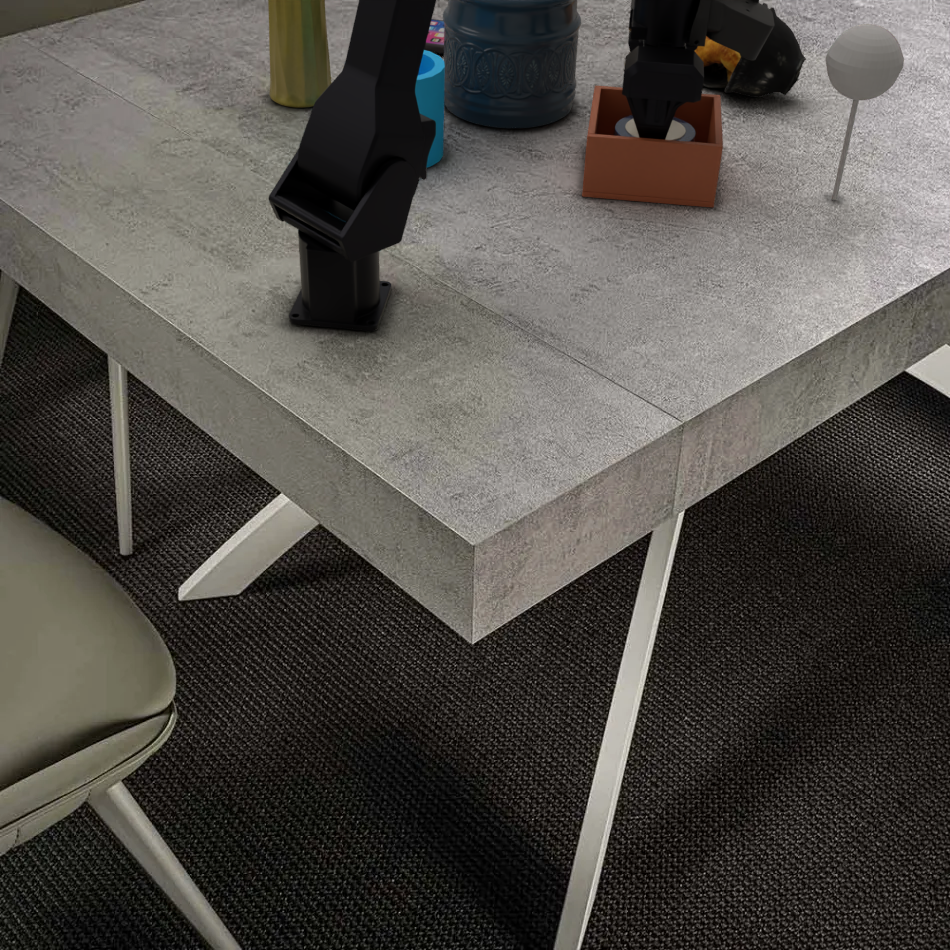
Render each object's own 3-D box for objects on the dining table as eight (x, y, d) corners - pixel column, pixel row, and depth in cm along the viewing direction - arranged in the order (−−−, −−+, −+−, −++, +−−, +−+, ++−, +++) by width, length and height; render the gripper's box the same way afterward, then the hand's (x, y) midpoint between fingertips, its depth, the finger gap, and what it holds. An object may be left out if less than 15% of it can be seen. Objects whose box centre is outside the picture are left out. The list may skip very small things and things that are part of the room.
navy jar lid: (693, 171, 111) (696, 148, 110) (610, 164, 112) (613, 141, 111) (692, 137, 117) (695, 115, 115) (614, 131, 117) (616, 109, 116)
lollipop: (817, 218, 110) (855, 41, 101) (786, 187, 114) (819, 15, 105) (883, 211, 111) (926, 36, 102) (850, 181, 116) (888, 11, 106)
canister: (429, 82, 131) (431, -105, 120) (555, 75, 133) (567, -109, 122) (455, 135, 121) (460, -63, 110) (590, 127, 123) (607, -68, 112)
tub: (713, 207, 111) (723, 146, 107) (581, 196, 112) (587, 136, 108) (711, 152, 120) (720, 94, 116) (589, 142, 120) (594, 85, 117)
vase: (345, 98, 127) (340, -54, 118) (295, 114, 124) (286, -42, 115) (307, 79, 130) (299, -70, 122) (257, 94, 127) (245, -58, 118)
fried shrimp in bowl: (798, 77, 122) (630, -14, 124) (758, 149, 132) (603, 65, 134) (835, 15, 126) (672, -73, 127) (793, 90, 136) (643, 8, 137)
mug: (419, 179, 113) (420, 88, 108) (336, 160, 116) (333, 70, 111) (474, 129, 122) (477, 42, 117) (396, 112, 125) (396, 27, 120)
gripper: (784, 0, 96) (750, 195, 106) (771, -72, 111) (742, 105, 120) (632, -11, 97) (612, 183, 107) (639, -81, 112) (621, 96, 121)
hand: (652, 140), depth 114 cm, fingers closed on navy jar lid, 7 cm apart
